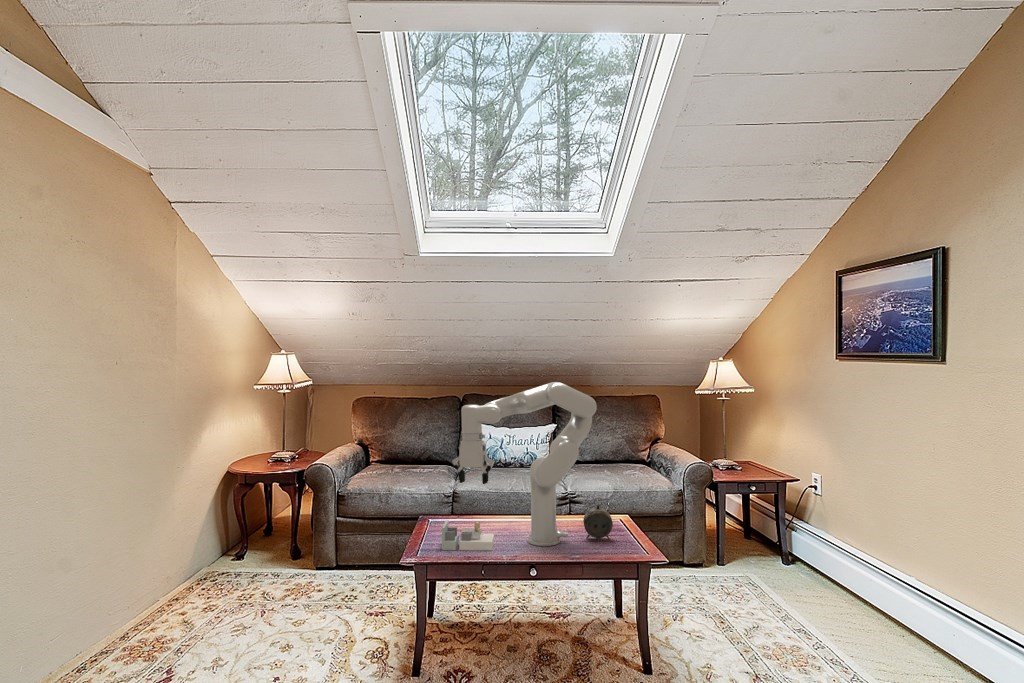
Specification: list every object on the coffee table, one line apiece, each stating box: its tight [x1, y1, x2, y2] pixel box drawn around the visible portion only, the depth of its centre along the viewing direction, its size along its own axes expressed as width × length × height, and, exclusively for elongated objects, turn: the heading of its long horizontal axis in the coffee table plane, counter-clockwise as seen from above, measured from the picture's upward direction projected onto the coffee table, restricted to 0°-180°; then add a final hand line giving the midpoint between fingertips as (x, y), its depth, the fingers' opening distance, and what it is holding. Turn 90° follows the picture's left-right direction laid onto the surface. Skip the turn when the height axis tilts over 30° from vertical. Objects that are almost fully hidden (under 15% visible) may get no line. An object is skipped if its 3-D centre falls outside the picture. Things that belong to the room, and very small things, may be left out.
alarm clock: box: [583, 497, 614, 542], centre depth 216 cm, size 11×5×16 cm, turn 87°
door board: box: [458, 527, 495, 551], centre depth 209 cm, size 12×10×6 cm
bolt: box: [461, 521, 482, 539], centre depth 209 cm, size 7×4×6 cm, turn 88°
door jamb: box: [441, 520, 460, 551], centre depth 210 cm, size 5×10×8 cm, turn 178°
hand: (473, 482), depth 212 cm, fingers open, 9 cm apart
